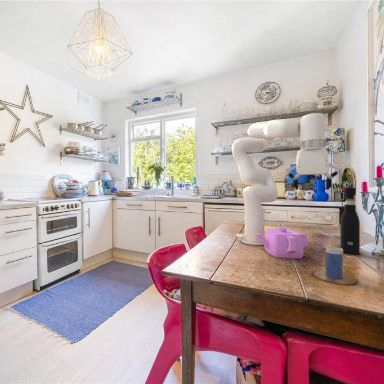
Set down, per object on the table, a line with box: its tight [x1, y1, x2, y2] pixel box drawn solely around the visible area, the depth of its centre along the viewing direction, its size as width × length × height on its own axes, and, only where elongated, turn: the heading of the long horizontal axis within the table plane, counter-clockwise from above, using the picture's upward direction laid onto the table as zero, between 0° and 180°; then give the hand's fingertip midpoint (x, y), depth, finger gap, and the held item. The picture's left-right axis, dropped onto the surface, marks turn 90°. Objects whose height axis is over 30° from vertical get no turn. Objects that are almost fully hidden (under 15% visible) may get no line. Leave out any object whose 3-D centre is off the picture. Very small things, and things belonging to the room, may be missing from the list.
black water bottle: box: [340, 187, 361, 256], centre depth 108 cm, size 6×6×30 cm
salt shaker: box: [324, 246, 344, 280], centre depth 81 cm, size 5×5×10 cm
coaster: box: [313, 270, 357, 286], centre depth 81 cm, size 11×11×1 cm
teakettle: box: [257, 226, 309, 260], centre depth 109 cm, size 17×17×12 cm
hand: (311, 189), depth 93 cm, fingers open, 9 cm apart
